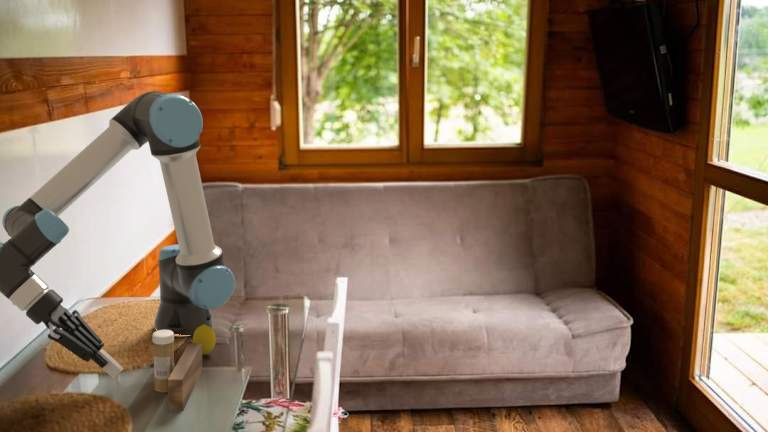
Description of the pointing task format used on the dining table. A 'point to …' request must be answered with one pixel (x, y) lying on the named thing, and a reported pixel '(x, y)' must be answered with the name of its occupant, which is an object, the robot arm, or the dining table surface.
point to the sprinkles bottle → (163, 358)
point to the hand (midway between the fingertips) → (118, 373)
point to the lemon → (205, 338)
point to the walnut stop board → (185, 376)
